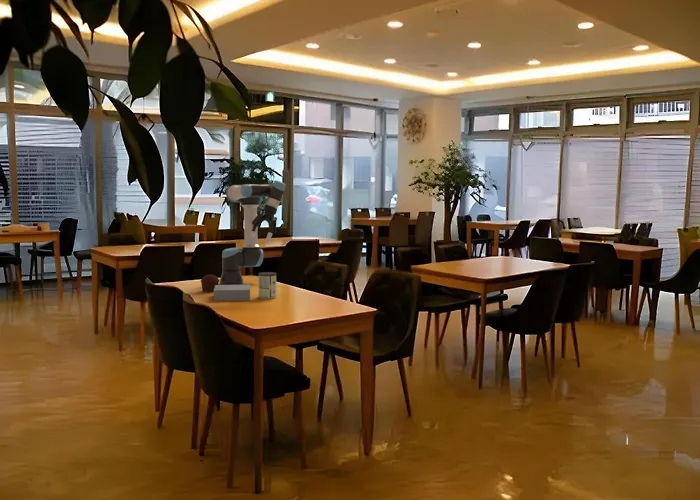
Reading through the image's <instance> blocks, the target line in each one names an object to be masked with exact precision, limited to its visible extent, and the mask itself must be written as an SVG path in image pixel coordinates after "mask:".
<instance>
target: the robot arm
mask: <svg viewBox="0 0 700 500" xmlns="http://www.w3.org/2000/svg"><path fill="white" fill-rule="evenodd" d="M286 186H287V185H286V183H284V182H283V181H281V180H276V179H275V180H274V181H273V183H272V184H268V183H267V184H254V183H253V184H250V183H247V184H246V183H245V184H233V185H230V186H228V187H227V188H226V191H225V197H226V198H227V199H228V200H229V201H230V202H232V203H237V204H238V203H240V204H241V206H242V208H243V227H244V230H243V231H244V244H243V245H242V249H241V248H240V247H230V248H225V249H224V250H222V253H221V258H222V259H221V260H222V261H221V264H222V266H221V267H222V270H221V271H222V273H221V276H220V278H219V285H244V279H243V276H242V273H241V268H255V267H261V265H262V263H263V261H264V250H263V249H262V248H261V245H259V244H258V241H259V239H258V236H259V235H258V229H259V225H260V224H261V225H262V223H263V222H267V225H268V230H269V232H267V235H266V238H265V241H264V243H266V244H270V241H271V239H272V238H273V235H275V234H276V233H277V222H278V217H277V216H275V215H276V214H277V212H278V208H279V206H280V203H281V201H282V198H283V195H284V192H285V190H286ZM263 198H267V199H266V201H265V202H266V204H265V205H264V208H263V210H259V212H258V207H259V206H260V203H262V201H263Z"/></svg>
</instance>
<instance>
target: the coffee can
mask: <svg viewBox="0 0 700 500" xmlns="http://www.w3.org/2000/svg"><path fill="white" fill-rule="evenodd" d="M258 298H259V299H267V300H268V299H275V298H277V272H274V271H267V272H266V271H263V272H258Z"/></svg>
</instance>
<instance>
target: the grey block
mask: <svg viewBox="0 0 700 500" xmlns="http://www.w3.org/2000/svg"><path fill="white" fill-rule="evenodd" d="M223 300H224V301H223ZM229 301H230V302H232V301H235V302H236V301H241V302H242V301H244V302H245V301H251V284H240V285H221V284H218V285H215V288H214V292H213V302H229Z"/></svg>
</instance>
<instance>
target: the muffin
mask: <svg viewBox="0 0 700 500" xmlns="http://www.w3.org/2000/svg"><path fill="white" fill-rule="evenodd" d="M200 284H201V289H202V293H214V288H215V285H219V284H220V278H219V277H218V276H216V275H215V274H206V275H204V276H203V277H202V278H201V280H200Z"/></svg>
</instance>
